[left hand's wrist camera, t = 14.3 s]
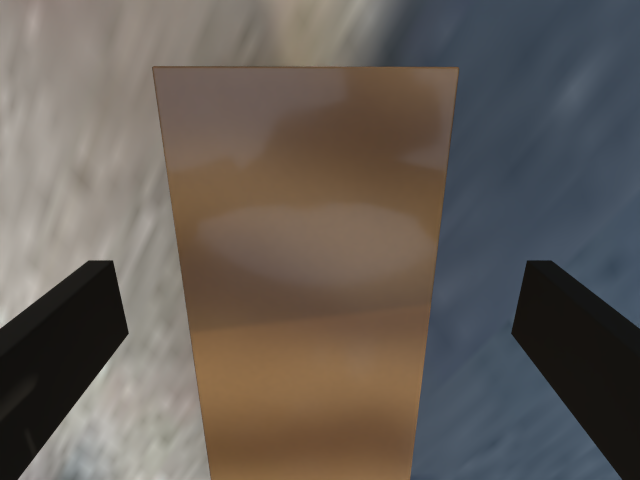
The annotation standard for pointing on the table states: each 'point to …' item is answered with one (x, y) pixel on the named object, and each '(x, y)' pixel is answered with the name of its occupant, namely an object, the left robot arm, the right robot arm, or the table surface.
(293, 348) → the brown wooden beam
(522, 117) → the table surface
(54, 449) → the table surface
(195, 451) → the table surface
